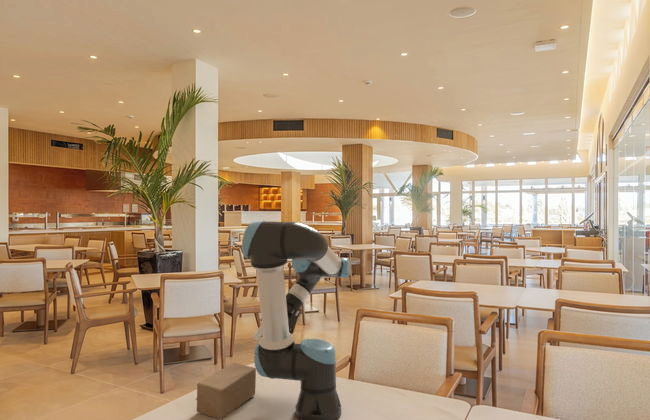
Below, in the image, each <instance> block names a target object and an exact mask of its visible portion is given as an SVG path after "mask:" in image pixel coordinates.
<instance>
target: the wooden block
mask: <svg viewBox="0 0 650 420" xmlns="http://www.w3.org/2000/svg"><path fill="white" fill-rule="evenodd" d="M256 375H257V370H256V367H253V366H249V365H245V364H240V363H237V362H232V363H230V364H229V365H227V366H225V367H224V368H221V369H220V370H218V371H217V372H215V373H213V374H211V375H210V376H208V377H205V379H202V380H201V381H199V382H197V384H196V386H197V387H196V413H200V414H201V415H206V416H208V417H212V418H214V419H218V420H221V419H223V418H225V417H226V416H227V415H229V414H231V412H232V411H235V410H236V409H237V408H239V407H240V406H241V405H243V404H244V403H245V402H247V401H248V400H249V399H251V398H253V396H255V395H256V381H257V380H256V378H257V377H256Z"/></svg>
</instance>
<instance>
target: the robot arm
mask: <svg viewBox="0 0 650 420" xmlns="http://www.w3.org/2000/svg"><path fill="white" fill-rule="evenodd" d="M241 252H242V255H243V257H244V258H246V259H247V260H248V259H249V261H250V265H251V268H253V269H254V270H256V279H257V287H258V289H257V290H258V298H259V305H260V315H261V318H260V322H261V323H260V325H259V327H258V328H257V330H256V331H255V333H254V334H253V336H252V338H253V339H254V340H255V341H257V342H258V343H257V344H256V346H255V349H254V358H253V362H254V366H255V367H254V368H256V373H258V375H260V376H261V377H264V378H269V379H273V380H274V379H279V380H288V381H300V391H299V394H298V398H297V402H296V404H295V416H296V417H297V418H298V419H299V420H338V419H339V418H340V417H341V416H342V403H341V401H340V397H339V395H338V391H337V358H336V356H337V355H336V347H335V345H333V344H332V343H330V342H329V341H326V340H324V339H319V338H306V339H305V338H304V339H303V340H301V342H300V343H295V337H294V335H293V334H294V331H295V330H296V329H295V328H296V325H297V321H298V320H299V319H298V318H299V316H300V315H301V312H300V309H301V308H302V306H303V304H304V303H305V302H306V300H307V299H308V297H309V296H310V294H311V293H312V291H313V290H314V289H315V288H316V287H317V284H318V283H319V282H320V281H321V279H322V278H336V279H337V278H339V279H342V278H343V279H344V278H348V277H350V275H351V261H350V259H349V258H347V257H346V258H345V257H339V256H338V255H337V254H336V253H335V251H333V249H332V248H331V247H330V246H329V243H328V240H327V238H326V237H325V236H324V235H323V234H322V233H321V232H320V231H319V230H317V229H315V228H314V227H312V226H310V225H308V224H306V223H302V222H299V221H298V222H297V221H267V220H266V221H265V220H263V221H254V222H251V223H250V224H248V225H247V227H246V228H245V230H244V232H243V236H242V240H241ZM288 260H291V266H292V268H293V271H294V272H295V274H296V276H297V279H296V281H295V282H294V283H293V285H292V286H291V288H290V289H289V290H288V292H287V293H286V283H285V281H286V280H285V273H284V272H285V271H284V267H285V266H286V264H287V263H288Z"/></svg>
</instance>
